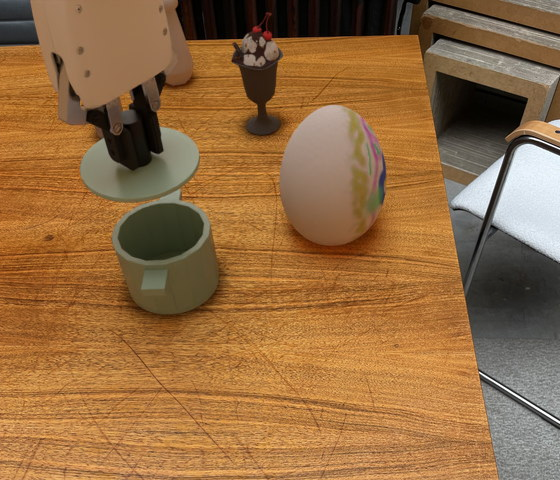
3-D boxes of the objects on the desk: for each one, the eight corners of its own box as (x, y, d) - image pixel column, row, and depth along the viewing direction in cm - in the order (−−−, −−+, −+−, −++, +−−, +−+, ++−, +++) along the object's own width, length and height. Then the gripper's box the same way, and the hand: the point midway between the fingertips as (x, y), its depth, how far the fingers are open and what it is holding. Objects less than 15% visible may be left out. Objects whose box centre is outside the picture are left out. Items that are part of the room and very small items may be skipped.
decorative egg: (389, 254, 74) (402, 139, 62) (284, 262, 74) (277, 148, 62) (375, 188, 81) (383, 74, 69) (279, 196, 82) (272, 83, 70)
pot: (118, 334, 69) (99, 285, 63) (139, 236, 78) (124, 185, 72) (213, 332, 68) (203, 282, 62) (223, 233, 78) (215, 182, 72)
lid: (71, 209, 58) (51, 156, 54) (94, 137, 65) (78, 84, 61) (195, 206, 58) (185, 153, 53) (205, 134, 65) (197, 81, 60)
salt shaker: (202, 73, 101) (188, -16, 91) (184, 91, 98) (168, 1, 88) (170, 66, 103) (153, -21, 92) (152, 84, 100) (132, -5, 89)
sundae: (295, 120, 92) (291, 10, 80) (268, 143, 89) (260, 33, 77) (258, 107, 94) (248, -1, 82) (231, 130, 91) (217, 21, 79)
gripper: (131, -111, 51) (172, 105, 65) (-45, -41, 44) (45, 183, 58) (198, -92, 47) (225, 130, 62) (20, -13, 40) (98, 216, 55)
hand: (138, 154), depth 60 cm, fingers closed on lid, 2 cm apart
